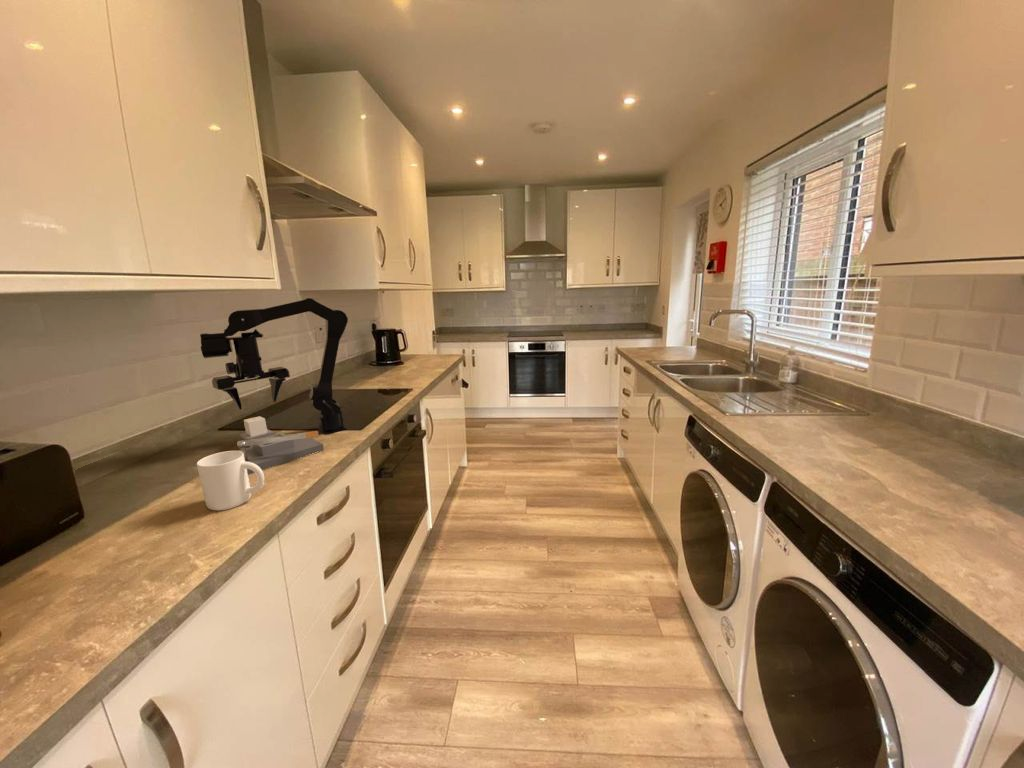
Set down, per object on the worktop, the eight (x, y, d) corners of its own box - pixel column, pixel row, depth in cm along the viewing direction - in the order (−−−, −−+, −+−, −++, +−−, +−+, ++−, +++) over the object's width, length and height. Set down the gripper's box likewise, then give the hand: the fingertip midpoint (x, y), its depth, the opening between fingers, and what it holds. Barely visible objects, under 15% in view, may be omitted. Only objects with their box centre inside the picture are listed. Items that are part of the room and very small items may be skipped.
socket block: (302, 439, 126) (299, 421, 125) (323, 450, 116) (321, 431, 115) (226, 460, 112) (222, 440, 110) (244, 475, 102) (240, 454, 101)
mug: (276, 489, 94) (268, 447, 92) (258, 508, 86) (249, 463, 84) (220, 494, 93) (211, 452, 91) (197, 513, 85) (187, 467, 83)
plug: (267, 438, 128) (262, 414, 126) (275, 443, 123) (270, 418, 121) (242, 445, 123) (237, 420, 121) (250, 450, 118) (245, 424, 117)
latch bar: (318, 434, 112) (317, 430, 112) (317, 436, 110) (317, 432, 110) (238, 445, 106) (238, 440, 106) (236, 448, 104) (235, 443, 104)
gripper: (271, 347, 130) (280, 394, 134) (201, 356, 116) (213, 408, 120) (285, 350, 123) (294, 399, 127) (212, 360, 109) (224, 415, 113)
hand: (257, 405), depth 122 cm, fingers open, 9 cm apart
